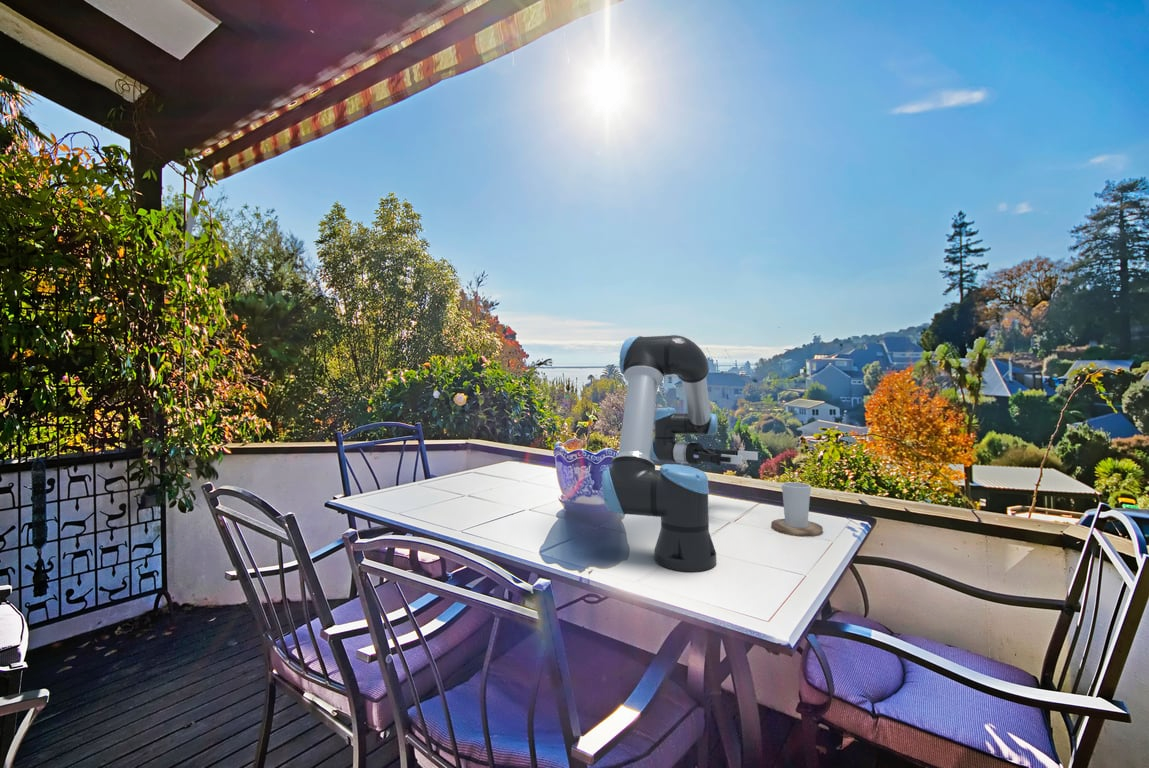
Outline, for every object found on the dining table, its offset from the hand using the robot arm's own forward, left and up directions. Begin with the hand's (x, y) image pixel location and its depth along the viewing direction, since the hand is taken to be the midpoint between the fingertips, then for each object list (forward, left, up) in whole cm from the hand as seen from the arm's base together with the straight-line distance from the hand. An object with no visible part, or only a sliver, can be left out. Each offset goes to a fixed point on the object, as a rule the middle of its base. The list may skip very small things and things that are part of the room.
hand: (749, 458), depth 156 cm
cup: (+7, -13, -19) cm, 24 cm away
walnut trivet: (+7, -13, -20) cm, 25 cm away
